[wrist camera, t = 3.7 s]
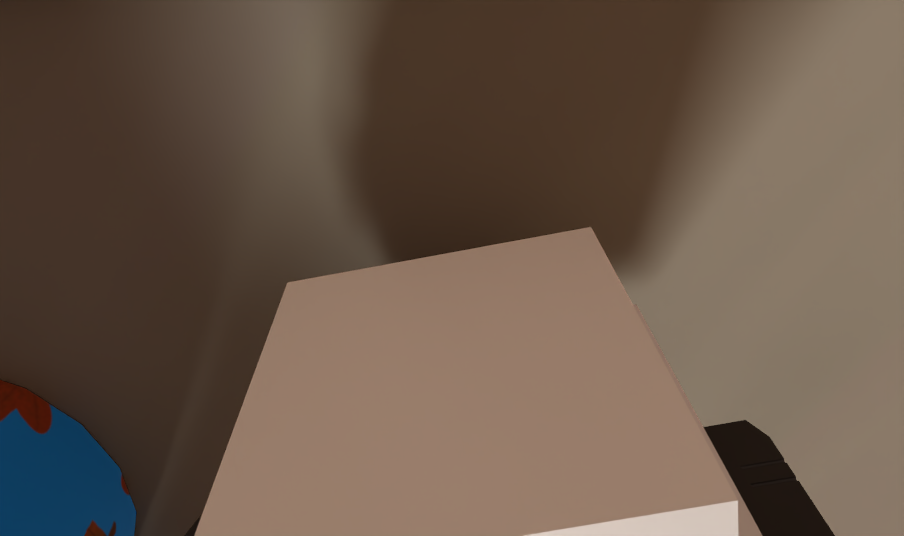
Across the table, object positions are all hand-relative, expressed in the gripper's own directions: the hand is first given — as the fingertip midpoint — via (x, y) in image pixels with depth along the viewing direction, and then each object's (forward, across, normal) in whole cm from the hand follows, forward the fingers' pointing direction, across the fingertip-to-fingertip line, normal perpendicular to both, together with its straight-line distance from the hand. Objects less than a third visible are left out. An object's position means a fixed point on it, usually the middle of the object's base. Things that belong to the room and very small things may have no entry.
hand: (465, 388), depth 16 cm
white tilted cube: (0, 0, 0) cm, 0 cm away
